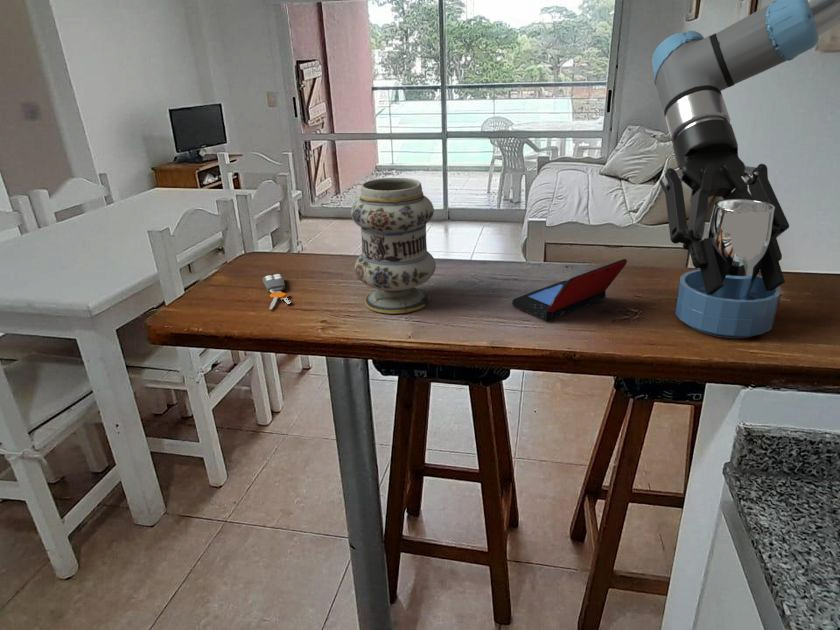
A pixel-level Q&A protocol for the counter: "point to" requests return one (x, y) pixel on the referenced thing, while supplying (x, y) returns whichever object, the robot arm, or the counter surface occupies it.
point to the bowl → (726, 309)
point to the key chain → (275, 288)
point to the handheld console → (569, 293)
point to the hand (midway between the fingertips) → (745, 288)
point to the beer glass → (740, 243)
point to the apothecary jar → (394, 244)
